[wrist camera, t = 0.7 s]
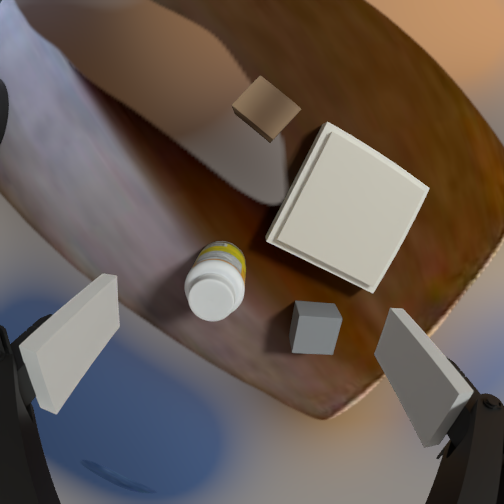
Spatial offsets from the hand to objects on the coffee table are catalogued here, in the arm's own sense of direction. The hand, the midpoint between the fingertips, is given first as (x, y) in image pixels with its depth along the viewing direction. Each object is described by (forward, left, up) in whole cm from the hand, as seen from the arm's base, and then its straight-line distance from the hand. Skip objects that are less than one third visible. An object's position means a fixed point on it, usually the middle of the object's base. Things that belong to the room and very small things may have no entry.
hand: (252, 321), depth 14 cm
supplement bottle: (-1, -5, -21) cm, 22 cm away
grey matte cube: (+12, -7, -21) cm, 25 cm away
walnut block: (-4, +12, -21) cm, 25 cm away
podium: (+9, +7, -21) cm, 24 cm away
